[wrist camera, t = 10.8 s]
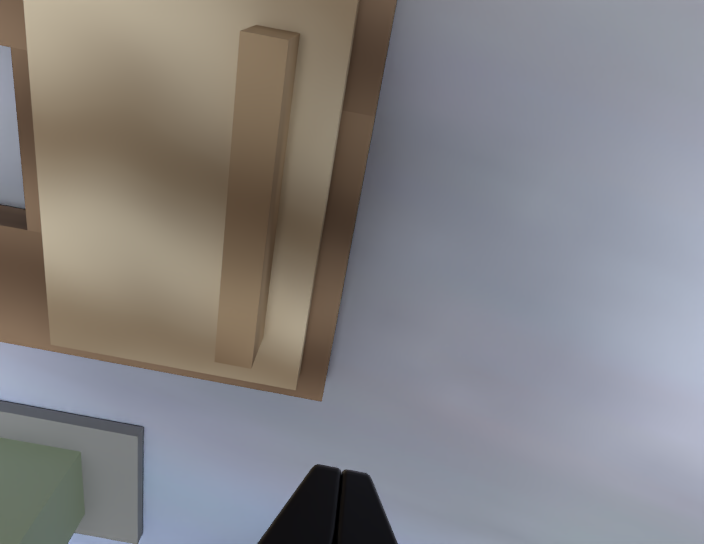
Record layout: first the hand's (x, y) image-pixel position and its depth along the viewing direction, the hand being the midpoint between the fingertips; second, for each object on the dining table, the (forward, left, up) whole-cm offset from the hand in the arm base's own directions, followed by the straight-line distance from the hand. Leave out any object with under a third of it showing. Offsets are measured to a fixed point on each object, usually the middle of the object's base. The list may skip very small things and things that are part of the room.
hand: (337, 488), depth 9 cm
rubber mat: (-16, +12, -13) cm, 24 cm away
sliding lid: (0, +6, -11) cm, 13 cm away
